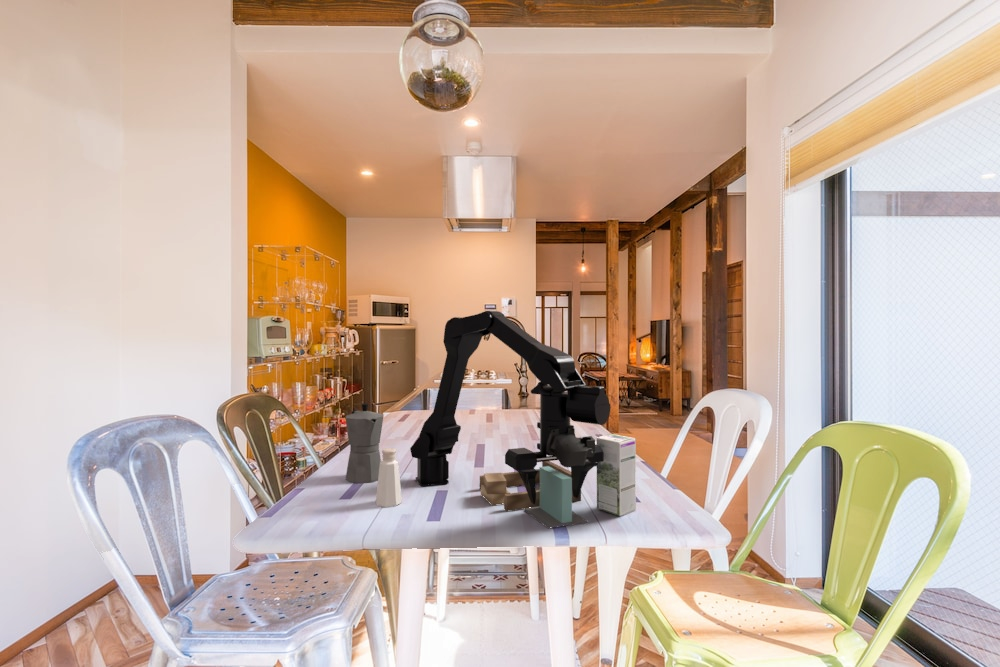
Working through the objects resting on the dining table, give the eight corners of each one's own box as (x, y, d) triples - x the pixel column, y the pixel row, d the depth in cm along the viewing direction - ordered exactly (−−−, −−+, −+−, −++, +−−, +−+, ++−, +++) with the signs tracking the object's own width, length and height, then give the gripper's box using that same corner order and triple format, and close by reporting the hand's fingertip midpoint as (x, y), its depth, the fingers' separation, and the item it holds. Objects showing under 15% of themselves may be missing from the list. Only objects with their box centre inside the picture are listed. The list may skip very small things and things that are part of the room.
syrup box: (637, 510, 99) (637, 437, 99) (619, 517, 95) (619, 441, 95) (613, 503, 103) (613, 432, 103) (595, 509, 99) (595, 436, 99)
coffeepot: (393, 481, 118) (394, 405, 118) (354, 488, 112) (354, 408, 112) (370, 467, 130) (370, 398, 130) (334, 472, 125) (334, 400, 125)
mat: (548, 528, 89) (548, 526, 89) (524, 510, 98) (524, 508, 98) (587, 522, 92) (587, 520, 92) (560, 505, 101) (560, 503, 101)
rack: (506, 511, 98) (506, 485, 98) (479, 489, 112) (479, 466, 112) (581, 500, 104) (581, 476, 104) (546, 480, 118) (546, 459, 118)
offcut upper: (487, 494, 102) (487, 481, 102) (483, 485, 108) (483, 473, 108) (506, 493, 102) (506, 481, 102) (502, 484, 108) (502, 472, 108)
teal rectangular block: (562, 523, 91) (562, 479, 91) (539, 507, 99) (539, 467, 99) (571, 521, 91) (571, 478, 91) (548, 506, 100) (548, 466, 100)
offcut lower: (492, 507, 101) (492, 494, 101) (480, 496, 108) (480, 485, 108) (510, 504, 103) (510, 492, 103) (498, 494, 109) (498, 483, 109)
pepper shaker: (393, 496, 106) (393, 445, 106) (407, 503, 102) (407, 449, 102) (370, 502, 102) (370, 449, 102) (384, 509, 99) (384, 453, 99)
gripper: (529, 429, 84) (529, 521, 84) (621, 422, 91) (620, 507, 91) (504, 419, 95) (503, 501, 95) (588, 413, 102) (587, 490, 102)
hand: (554, 500), depth 95 cm, fingers open, 9 cm apart
